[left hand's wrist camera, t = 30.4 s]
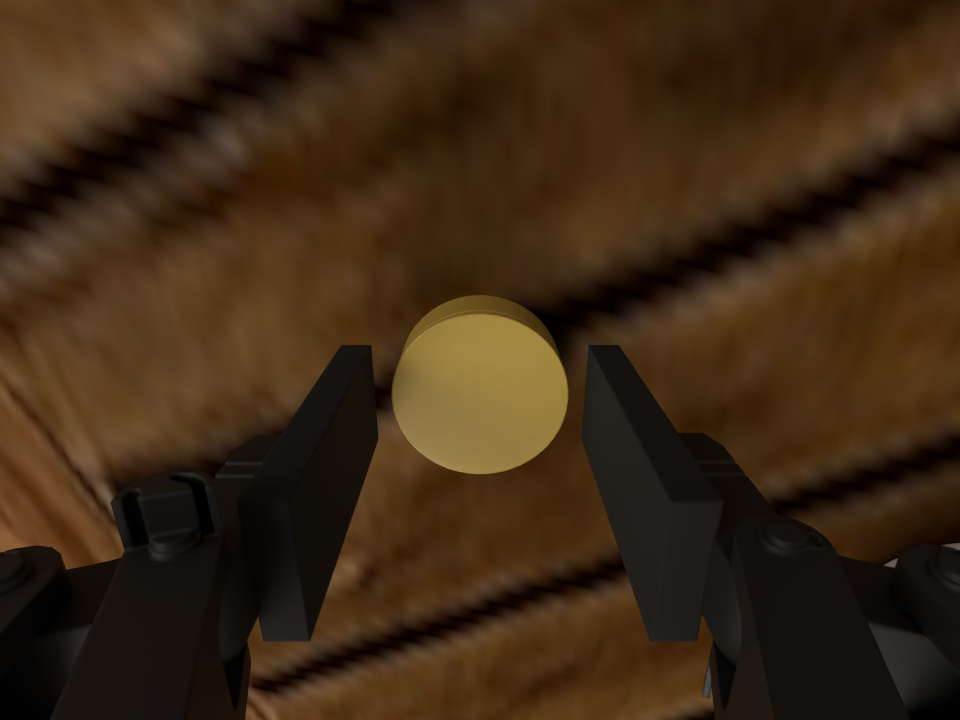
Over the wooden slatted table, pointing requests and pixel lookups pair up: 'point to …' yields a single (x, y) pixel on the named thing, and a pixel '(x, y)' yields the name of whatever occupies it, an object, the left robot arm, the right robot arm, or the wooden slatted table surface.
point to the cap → (480, 385)
